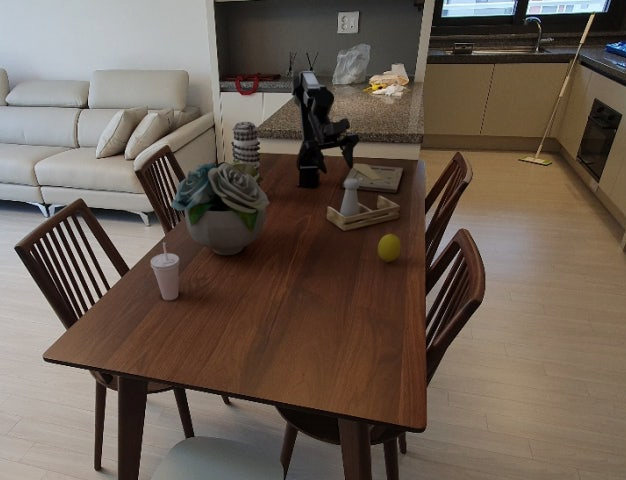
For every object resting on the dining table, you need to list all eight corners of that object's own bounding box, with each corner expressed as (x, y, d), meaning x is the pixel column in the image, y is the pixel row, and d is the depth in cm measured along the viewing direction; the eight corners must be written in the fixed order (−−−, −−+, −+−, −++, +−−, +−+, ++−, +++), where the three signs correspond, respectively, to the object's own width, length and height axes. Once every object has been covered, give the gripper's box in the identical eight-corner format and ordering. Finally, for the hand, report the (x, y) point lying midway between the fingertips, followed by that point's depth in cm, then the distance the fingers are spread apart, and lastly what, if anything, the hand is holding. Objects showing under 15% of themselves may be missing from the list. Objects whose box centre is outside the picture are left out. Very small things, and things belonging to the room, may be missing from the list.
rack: (326, 218, 142) (327, 206, 139) (378, 207, 148) (380, 195, 146) (344, 231, 134) (345, 218, 132) (398, 218, 141) (400, 205, 138)
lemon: (399, 258, 120) (403, 230, 115) (397, 268, 115) (401, 240, 111) (377, 255, 121) (381, 228, 117) (374, 265, 117) (378, 237, 112)
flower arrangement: (254, 278, 113) (250, 182, 100) (165, 262, 121) (151, 172, 108) (284, 235, 133) (285, 151, 119) (206, 224, 140) (199, 144, 127)
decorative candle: (256, 205, 152) (254, 127, 139) (230, 202, 155) (225, 126, 141) (265, 195, 159) (263, 120, 146) (240, 192, 162) (236, 119, 148)
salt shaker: (357, 217, 142) (361, 176, 135) (359, 225, 137) (363, 183, 130) (338, 216, 143) (341, 176, 136) (339, 224, 138) (342, 183, 131)
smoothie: (171, 306, 104) (163, 251, 96) (150, 298, 107) (140, 245, 99) (189, 292, 108) (182, 239, 101) (169, 285, 111) (161, 233, 104)
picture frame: (354, 167, 182) (342, 188, 163) (354, 163, 181) (342, 183, 162) (402, 171, 176) (396, 193, 158) (403, 167, 175) (396, 188, 157)
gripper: (305, 113, 130) (323, 162, 128) (359, 105, 137) (378, 152, 134) (291, 134, 141) (308, 180, 138) (342, 126, 147) (359, 170, 144)
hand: (339, 170), depth 138 cm, fingers open, 9 cm apart
